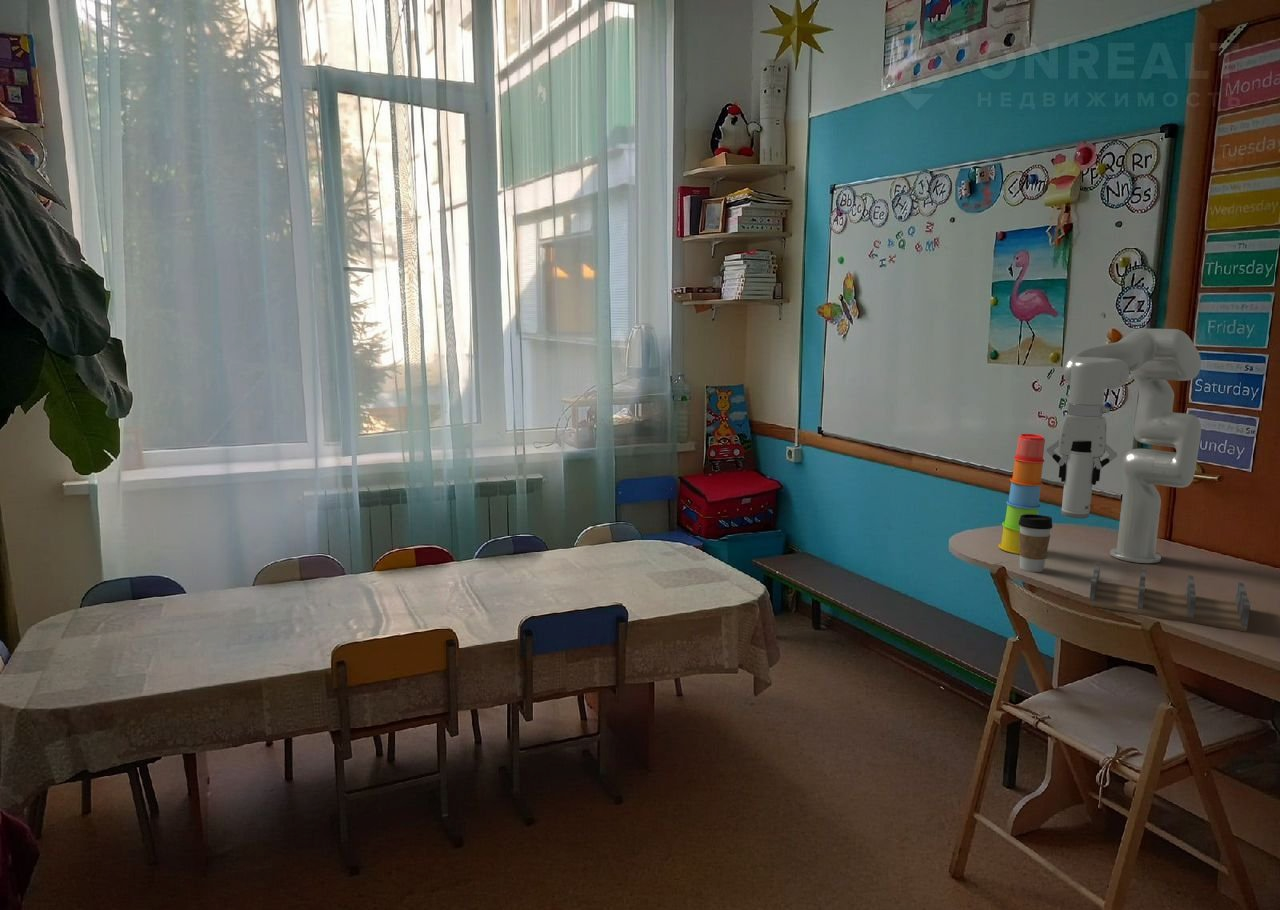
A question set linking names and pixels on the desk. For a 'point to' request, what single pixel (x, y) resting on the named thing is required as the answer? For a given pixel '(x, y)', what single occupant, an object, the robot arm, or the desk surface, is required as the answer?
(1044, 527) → the coffee cup
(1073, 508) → the travel mug
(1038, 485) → the stacking cups
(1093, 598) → the drying rack
